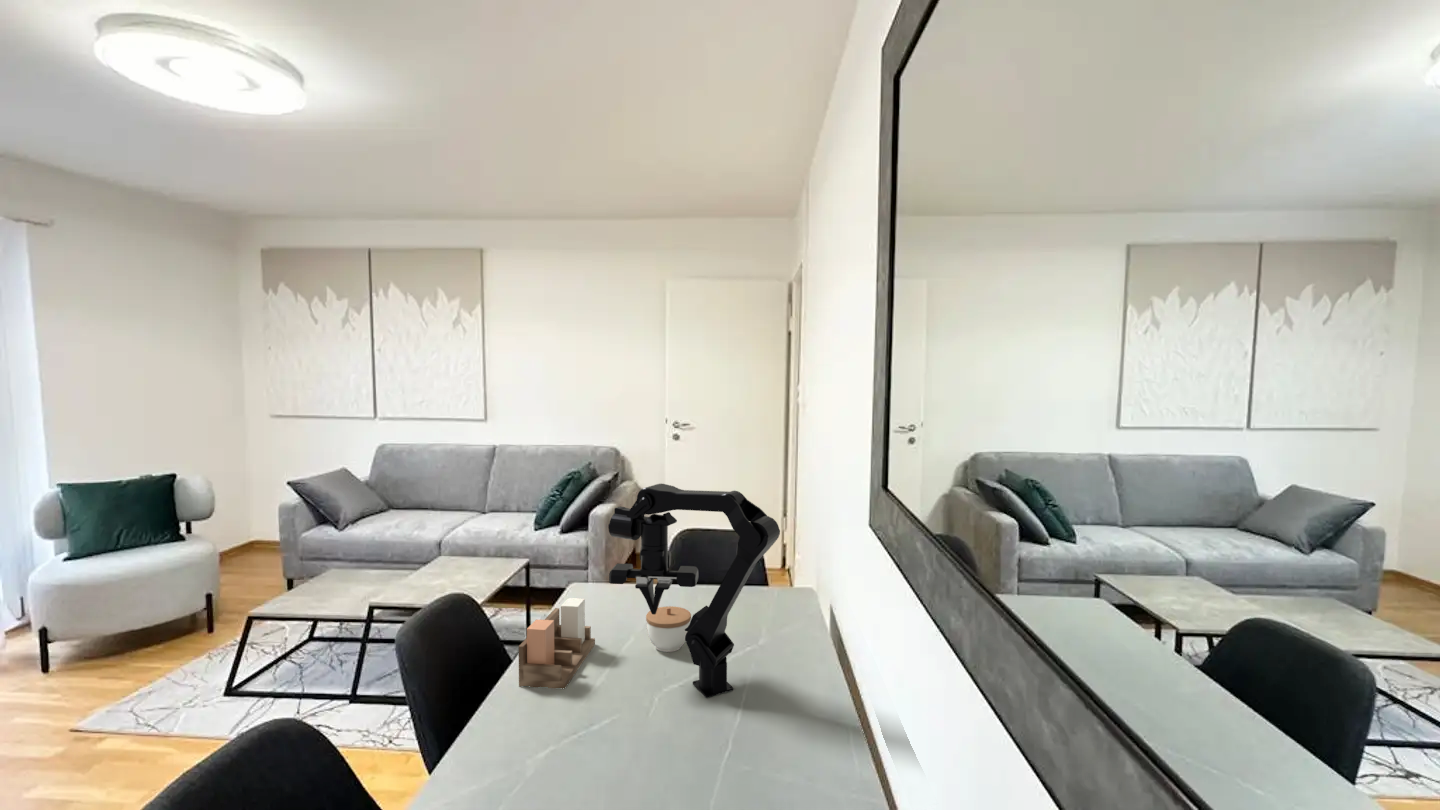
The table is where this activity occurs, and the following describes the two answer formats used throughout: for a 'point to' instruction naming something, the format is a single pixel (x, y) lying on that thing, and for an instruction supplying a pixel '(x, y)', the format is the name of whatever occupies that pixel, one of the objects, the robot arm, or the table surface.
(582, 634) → the white tall block
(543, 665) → the wooden desk organizer
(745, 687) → the table surface
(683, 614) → the lidded jar
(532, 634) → the light orange tall block
